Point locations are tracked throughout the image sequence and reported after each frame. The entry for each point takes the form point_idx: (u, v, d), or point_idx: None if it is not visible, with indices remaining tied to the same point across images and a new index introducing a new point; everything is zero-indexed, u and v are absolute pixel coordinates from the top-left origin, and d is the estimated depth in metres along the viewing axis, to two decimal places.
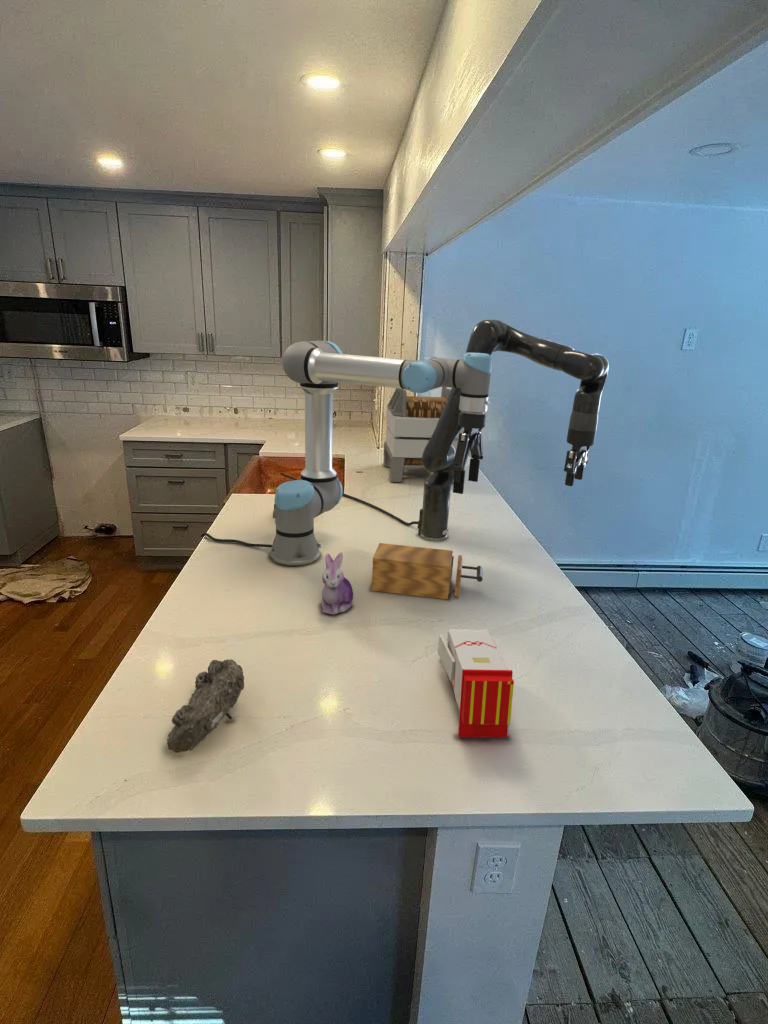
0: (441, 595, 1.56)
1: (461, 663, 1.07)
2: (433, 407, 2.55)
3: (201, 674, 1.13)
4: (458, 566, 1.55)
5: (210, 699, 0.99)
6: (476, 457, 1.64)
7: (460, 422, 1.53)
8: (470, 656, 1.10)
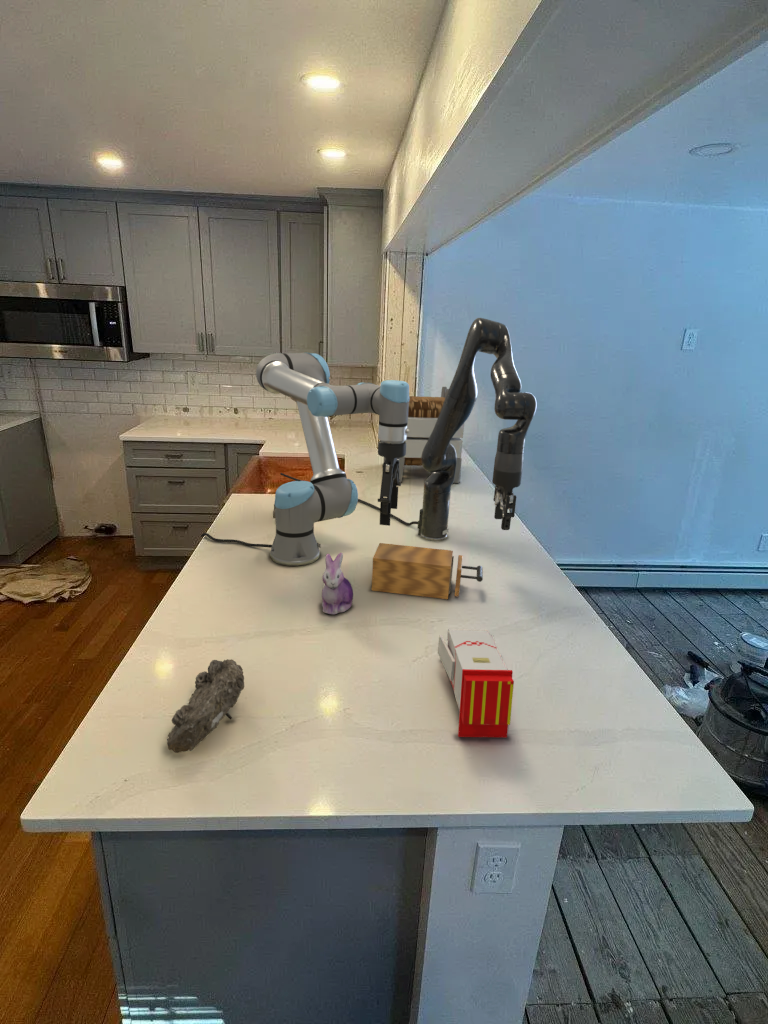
0: (441, 595, 1.56)
1: (461, 663, 1.07)
2: (433, 407, 2.55)
3: (201, 674, 1.13)
4: (458, 566, 1.55)
5: (210, 699, 0.99)
6: (394, 484, 1.61)
7: (381, 452, 1.48)
8: (470, 656, 1.10)
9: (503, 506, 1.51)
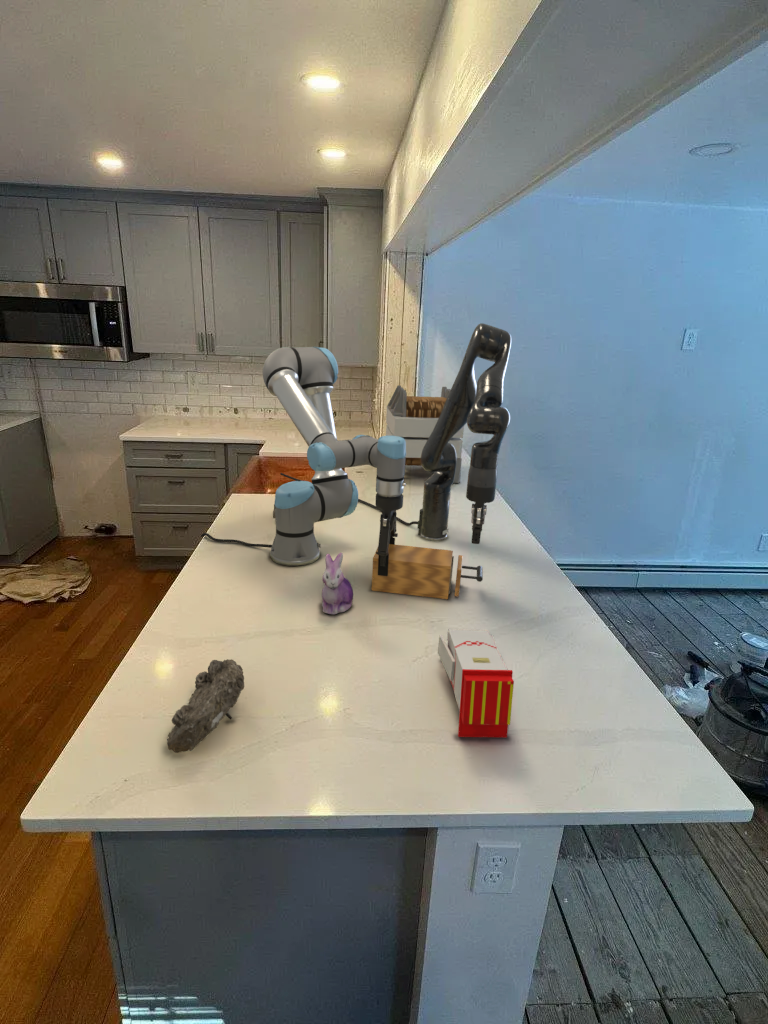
0: (441, 595, 1.56)
1: (461, 663, 1.07)
2: (433, 407, 2.55)
3: (201, 674, 1.13)
4: (458, 566, 1.55)
5: (210, 699, 0.99)
6: (391, 535, 1.65)
7: (379, 505, 1.53)
8: (470, 656, 1.10)
9: (473, 521, 1.49)
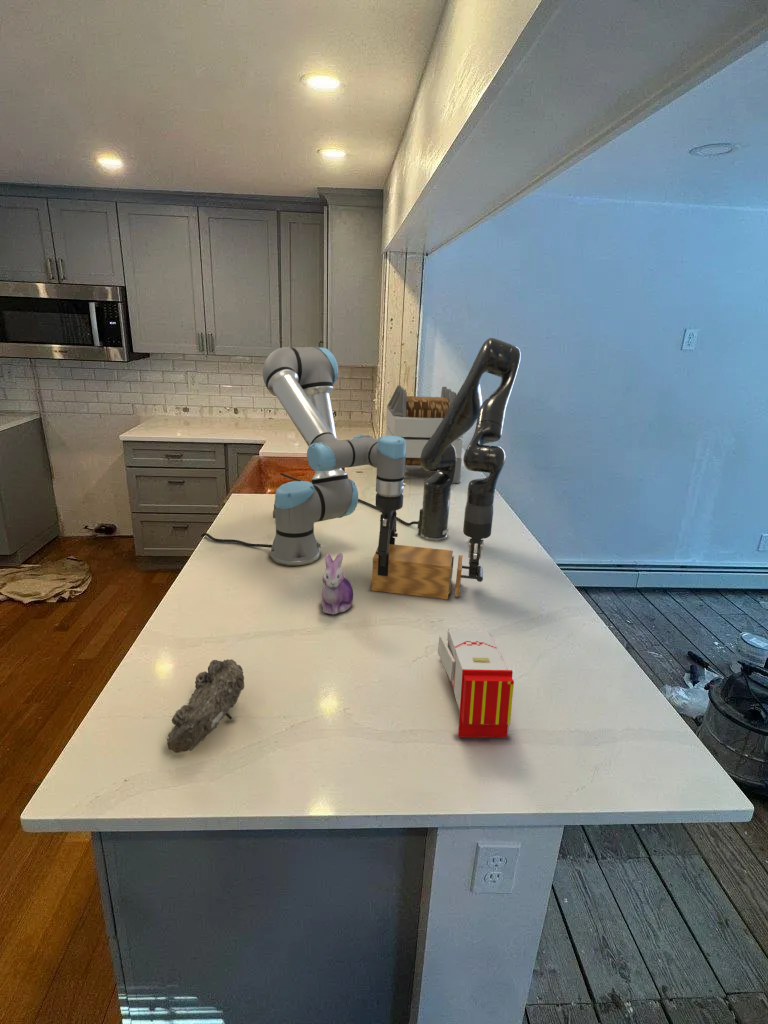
0: (441, 595, 1.56)
1: (461, 663, 1.07)
2: (433, 407, 2.55)
3: (201, 674, 1.13)
4: (458, 566, 1.55)
5: (210, 699, 0.99)
6: (391, 535, 1.65)
7: (379, 505, 1.53)
8: (470, 656, 1.10)
9: None
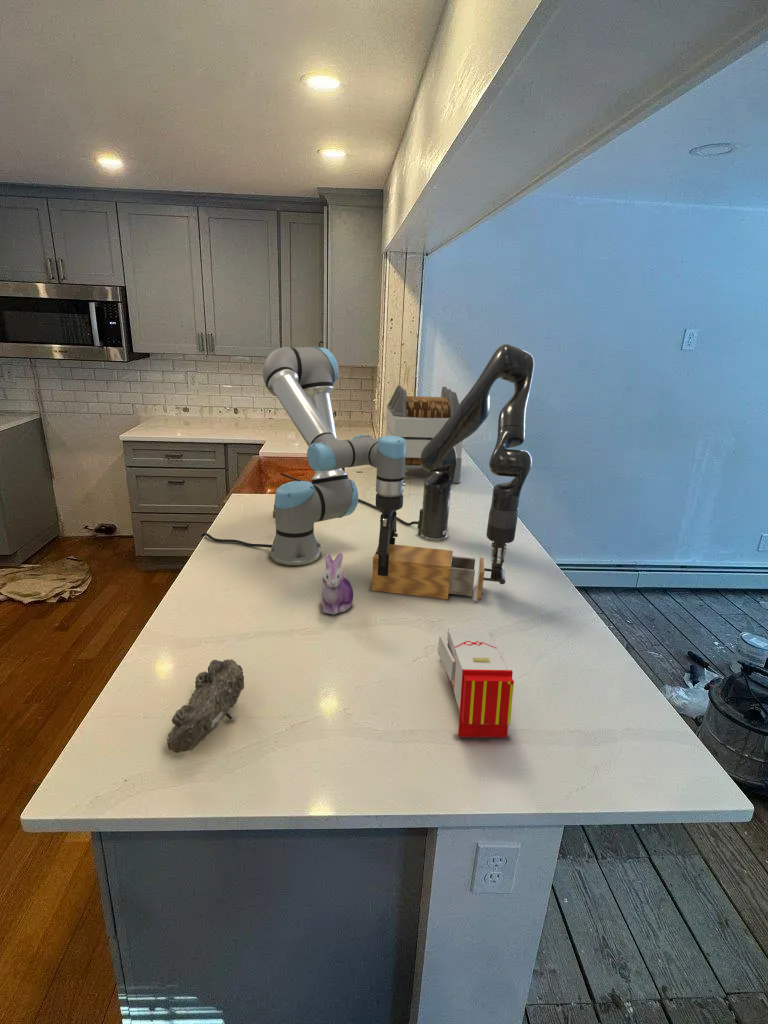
0: (441, 595, 1.56)
1: (461, 663, 1.07)
2: (433, 407, 2.55)
3: (201, 674, 1.13)
4: (481, 569, 1.54)
5: (210, 699, 0.99)
6: (391, 535, 1.65)
7: (379, 505, 1.53)
8: (470, 656, 1.10)
9: (493, 560, 1.52)
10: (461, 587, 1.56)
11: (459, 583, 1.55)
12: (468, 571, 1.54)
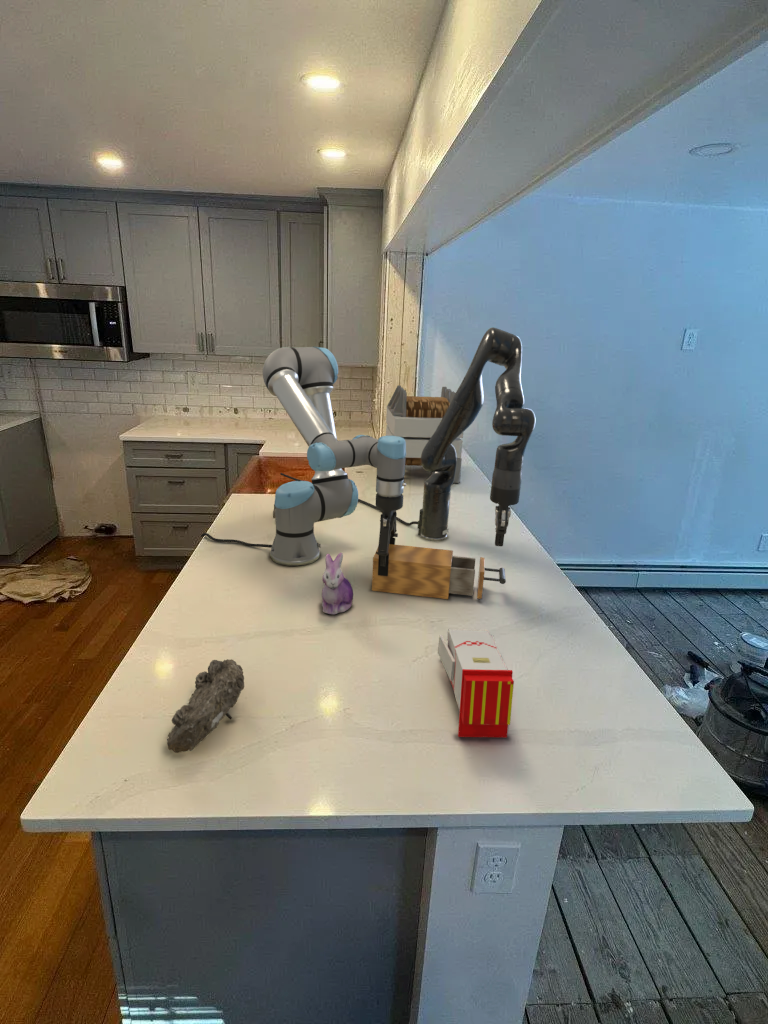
0: (441, 595, 1.56)
1: (461, 663, 1.07)
2: (433, 407, 2.55)
3: (201, 674, 1.13)
4: (481, 568, 1.54)
5: (210, 699, 0.99)
6: (391, 535, 1.65)
7: (379, 505, 1.53)
8: (470, 656, 1.10)
9: None
10: (461, 587, 1.56)
11: (459, 583, 1.55)
12: (468, 571, 1.54)
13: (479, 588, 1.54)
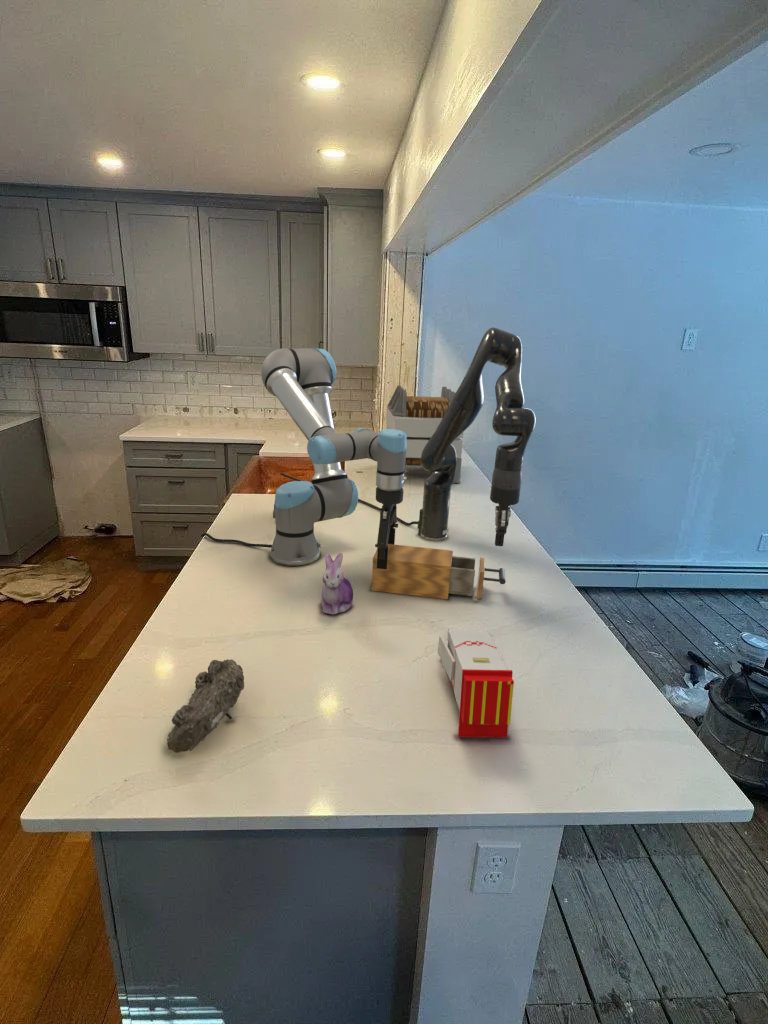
0: (441, 595, 1.56)
1: (461, 663, 1.07)
2: (433, 407, 2.55)
3: (201, 674, 1.13)
4: (481, 568, 1.54)
5: (210, 699, 0.99)
6: (391, 526, 1.65)
7: (379, 499, 1.52)
8: (470, 656, 1.10)
9: None
10: (461, 587, 1.56)
11: (459, 583, 1.55)
12: (468, 571, 1.54)
13: (479, 588, 1.54)
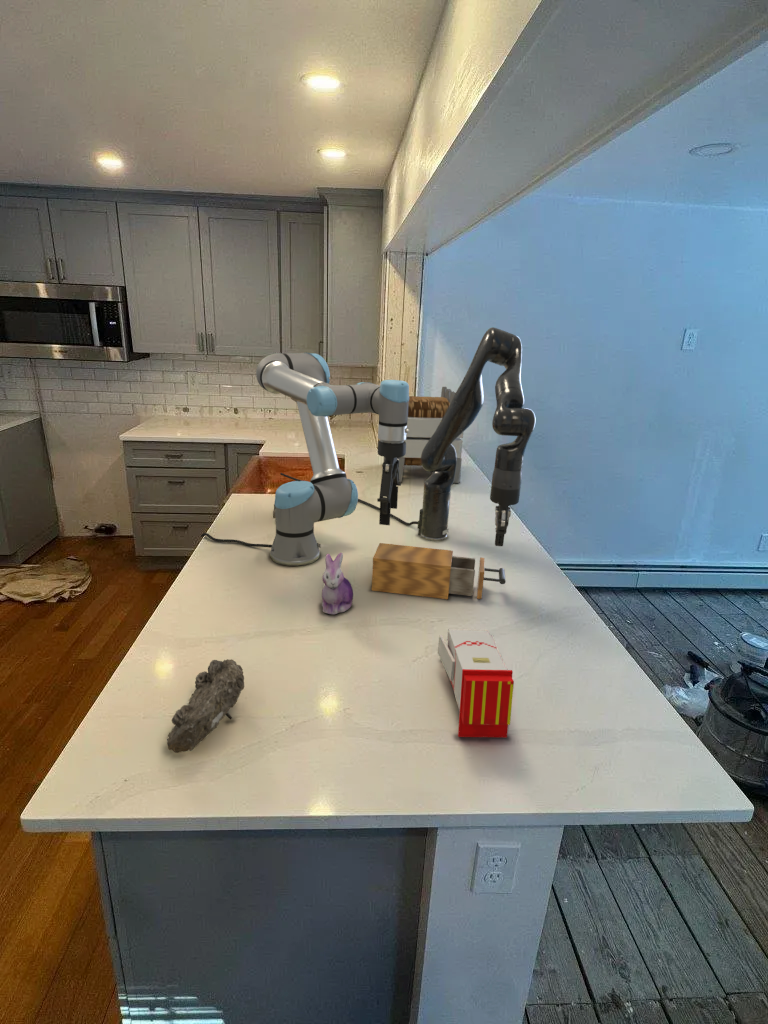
0: (441, 595, 1.56)
1: (461, 663, 1.07)
2: (433, 407, 2.55)
3: (201, 674, 1.13)
4: (481, 569, 1.54)
5: (210, 699, 0.99)
6: (394, 484, 1.61)
7: (381, 452, 1.48)
8: (470, 656, 1.10)
9: None
10: (461, 587, 1.56)
11: (459, 583, 1.55)
12: (468, 571, 1.54)
13: (479, 588, 1.54)
